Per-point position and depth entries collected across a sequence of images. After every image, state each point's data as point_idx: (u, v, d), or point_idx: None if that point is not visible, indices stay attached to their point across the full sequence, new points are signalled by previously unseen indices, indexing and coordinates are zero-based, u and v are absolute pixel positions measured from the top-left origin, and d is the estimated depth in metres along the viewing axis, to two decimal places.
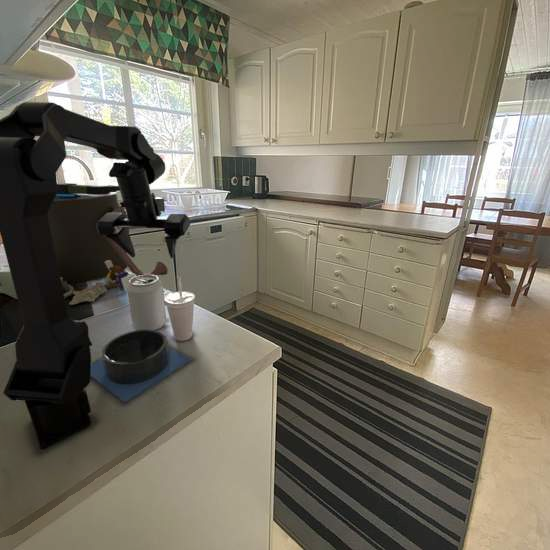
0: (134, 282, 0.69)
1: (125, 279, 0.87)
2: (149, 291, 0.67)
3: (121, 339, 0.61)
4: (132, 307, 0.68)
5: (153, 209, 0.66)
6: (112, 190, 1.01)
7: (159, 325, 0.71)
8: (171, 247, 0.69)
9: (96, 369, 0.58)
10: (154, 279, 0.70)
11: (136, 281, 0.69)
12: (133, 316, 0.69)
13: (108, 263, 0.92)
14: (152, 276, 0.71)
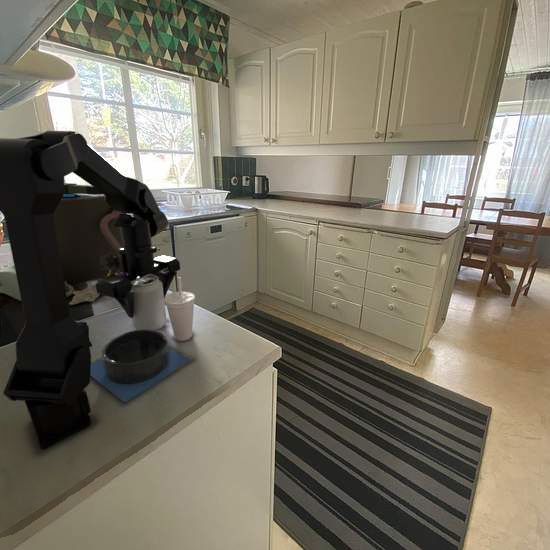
0: (134, 282, 0.69)
1: None
2: (149, 291, 0.67)
3: (121, 339, 0.61)
4: None
5: None
6: None
7: (159, 325, 0.71)
8: None
9: (96, 369, 0.58)
10: (154, 279, 0.70)
11: (136, 281, 0.69)
12: (133, 316, 0.69)
13: None
14: (152, 276, 0.71)
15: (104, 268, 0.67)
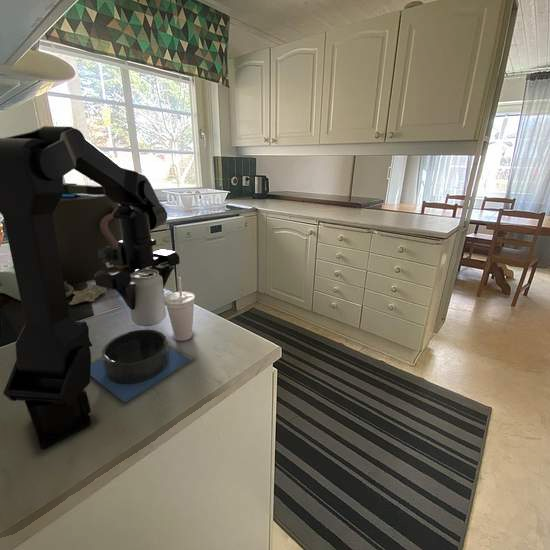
0: (134, 275, 0.68)
1: None
2: (149, 284, 0.67)
3: (121, 339, 0.61)
4: None
5: None
6: None
7: (158, 320, 0.70)
8: (166, 281, 0.73)
9: (96, 369, 0.58)
10: (154, 273, 0.70)
11: (136, 275, 0.69)
12: (132, 310, 0.69)
13: (108, 263, 0.92)
14: (152, 270, 0.71)
15: (103, 261, 0.66)
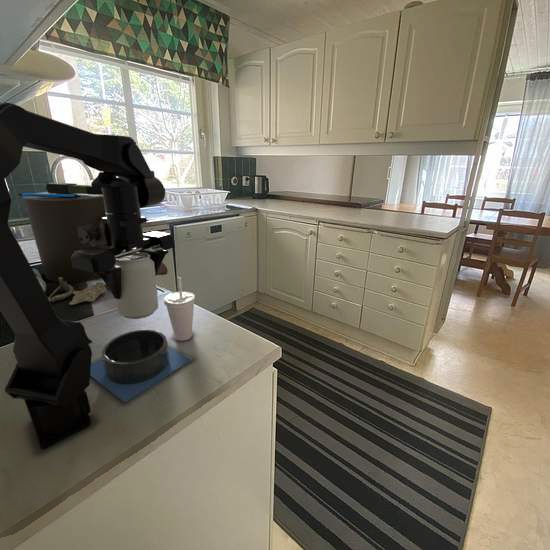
0: (121, 259, 0.58)
1: None
2: (138, 268, 0.57)
3: (121, 339, 0.61)
4: None
5: None
6: None
7: (149, 311, 0.60)
8: (158, 267, 0.64)
9: (96, 369, 0.58)
10: (145, 257, 0.60)
11: (123, 258, 0.59)
12: (118, 299, 0.58)
13: None
14: (142, 254, 0.61)
15: (83, 241, 0.56)
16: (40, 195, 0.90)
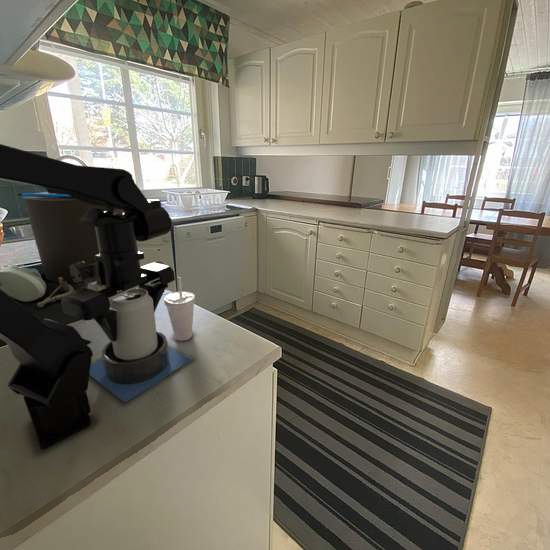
0: (116, 298, 0.54)
1: None
2: (135, 309, 0.52)
3: None
4: None
5: None
6: None
7: (147, 352, 0.56)
8: (158, 302, 0.59)
9: (96, 369, 0.58)
10: (142, 294, 0.56)
11: (119, 296, 0.54)
12: None
13: None
14: (140, 290, 0.57)
15: (76, 279, 0.52)
16: (40, 195, 0.90)
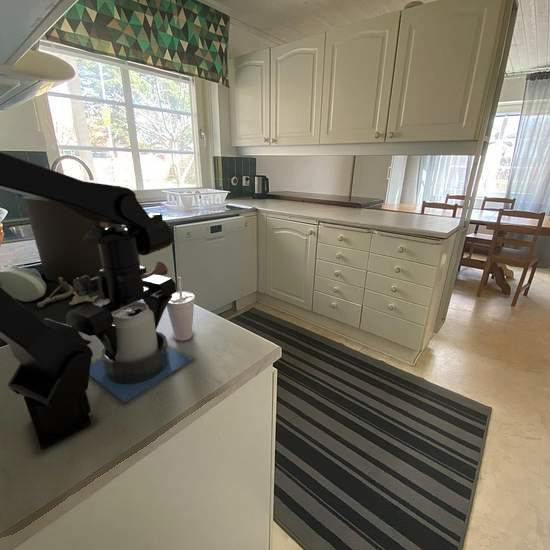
0: (117, 313, 0.54)
1: None
2: (136, 325, 0.53)
3: None
4: None
5: None
6: None
7: None
8: (162, 313, 0.61)
9: (96, 369, 0.58)
10: (143, 308, 0.56)
11: (120, 312, 0.55)
12: (116, 356, 0.55)
13: None
14: (141, 304, 0.57)
15: (79, 294, 0.53)
16: None
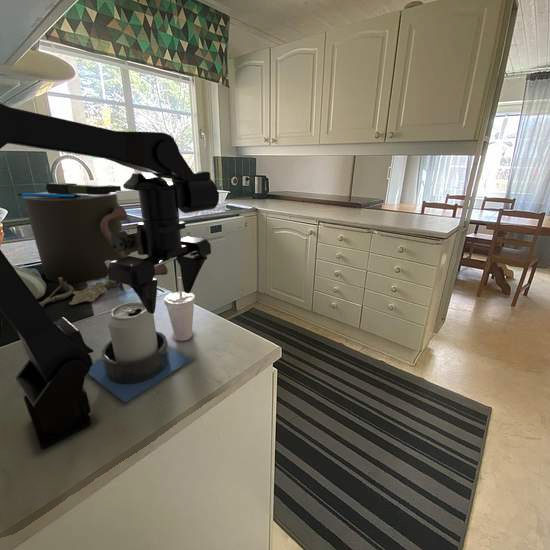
0: (117, 313, 0.54)
1: None
2: (136, 325, 0.53)
3: None
4: (115, 345, 0.54)
5: None
6: (112, 190, 1.01)
7: None
8: (197, 274, 0.59)
9: (96, 369, 0.58)
10: (143, 308, 0.56)
11: (120, 312, 0.55)
12: (116, 356, 0.55)
13: (108, 263, 0.92)
14: (141, 304, 0.57)
15: (117, 249, 0.51)
16: (40, 195, 0.90)
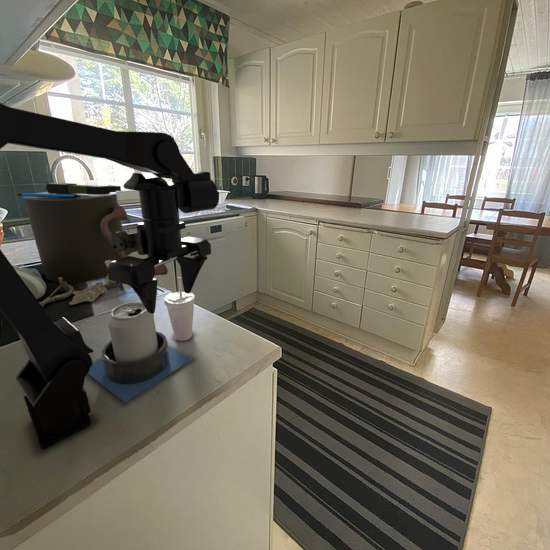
0: (117, 313, 0.54)
1: None
2: (136, 325, 0.53)
3: None
4: (115, 345, 0.54)
5: None
6: (112, 190, 1.01)
7: None
8: (197, 274, 0.59)
9: (96, 369, 0.58)
10: (143, 308, 0.56)
11: (120, 312, 0.55)
12: (116, 356, 0.55)
13: (108, 263, 0.92)
14: (141, 304, 0.57)
15: (117, 249, 0.51)
16: (40, 195, 0.90)
